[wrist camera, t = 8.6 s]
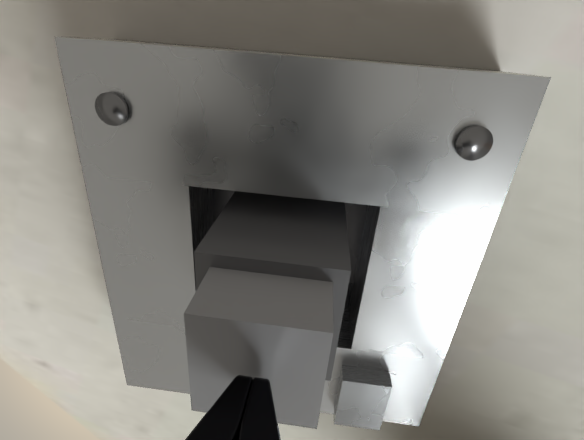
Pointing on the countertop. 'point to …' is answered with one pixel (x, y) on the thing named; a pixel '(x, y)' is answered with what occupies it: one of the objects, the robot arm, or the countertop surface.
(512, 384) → the countertop surface
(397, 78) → the faceplate
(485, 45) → the countertop surface
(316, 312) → the plug
